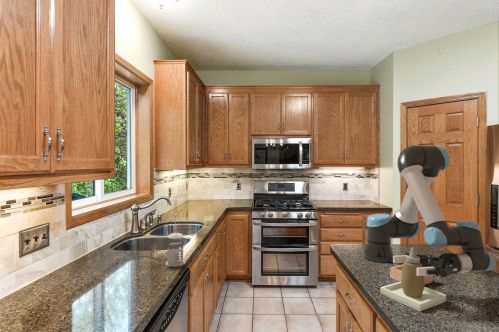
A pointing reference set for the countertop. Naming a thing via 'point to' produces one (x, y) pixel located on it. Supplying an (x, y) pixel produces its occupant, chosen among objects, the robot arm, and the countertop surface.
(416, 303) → the tray
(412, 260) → the squeeze bottle
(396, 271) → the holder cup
